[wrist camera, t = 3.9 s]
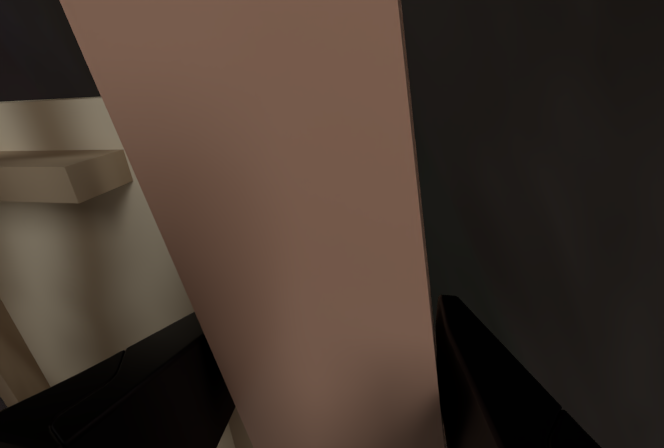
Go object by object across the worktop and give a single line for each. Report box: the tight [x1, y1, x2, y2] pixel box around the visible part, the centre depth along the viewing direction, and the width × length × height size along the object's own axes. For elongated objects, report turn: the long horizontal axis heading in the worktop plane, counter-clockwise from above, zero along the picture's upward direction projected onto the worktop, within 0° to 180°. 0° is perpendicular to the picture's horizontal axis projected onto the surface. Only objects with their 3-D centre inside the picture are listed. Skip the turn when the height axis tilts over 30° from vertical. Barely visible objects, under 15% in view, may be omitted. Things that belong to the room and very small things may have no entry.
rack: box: [0, 97, 253, 448], centre depth 17 cm, size 16×22×4 cm
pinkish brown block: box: [60, 0, 446, 448], centre depth 8 cm, size 4×14×4 cm, turn 11°
